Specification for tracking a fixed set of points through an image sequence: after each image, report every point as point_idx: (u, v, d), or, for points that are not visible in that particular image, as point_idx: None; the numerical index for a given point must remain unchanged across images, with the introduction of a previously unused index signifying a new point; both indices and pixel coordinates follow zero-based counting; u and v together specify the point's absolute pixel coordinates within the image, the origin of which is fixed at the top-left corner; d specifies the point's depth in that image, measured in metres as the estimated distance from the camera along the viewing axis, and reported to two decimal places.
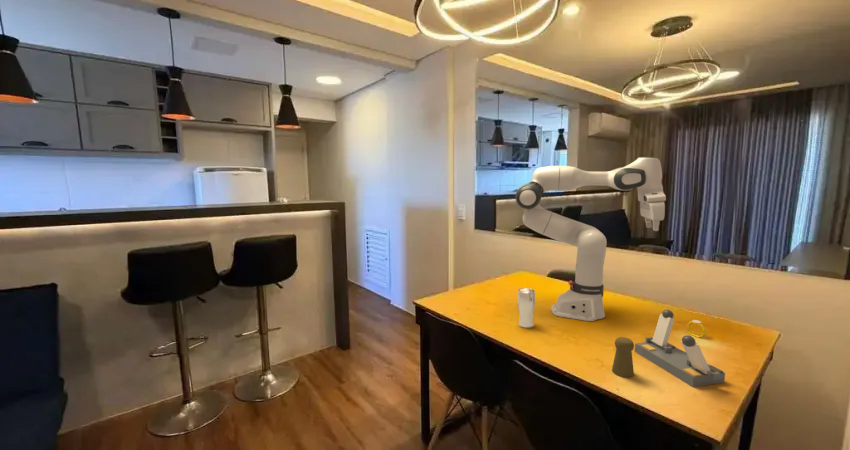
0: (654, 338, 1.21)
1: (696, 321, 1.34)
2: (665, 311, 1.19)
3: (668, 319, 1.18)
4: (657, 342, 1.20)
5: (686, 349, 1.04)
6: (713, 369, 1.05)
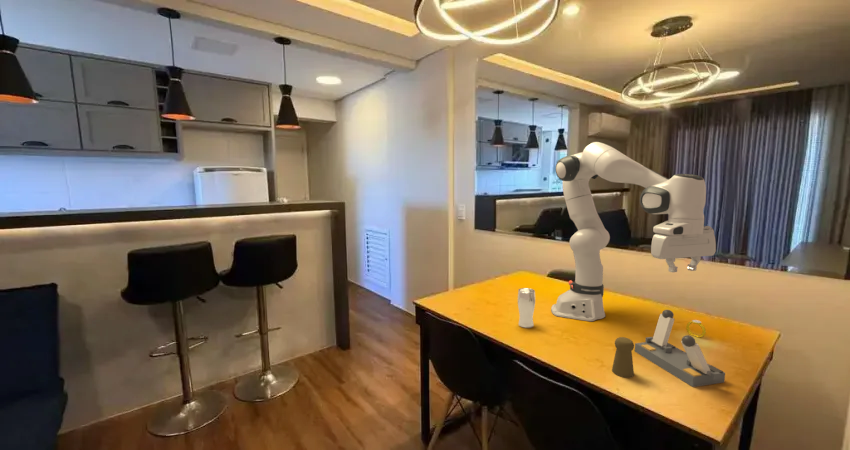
0: (654, 338, 1.21)
1: (696, 321, 1.34)
2: (665, 311, 1.19)
3: (668, 319, 1.18)
4: (657, 342, 1.20)
5: (686, 349, 1.04)
6: (713, 369, 1.05)
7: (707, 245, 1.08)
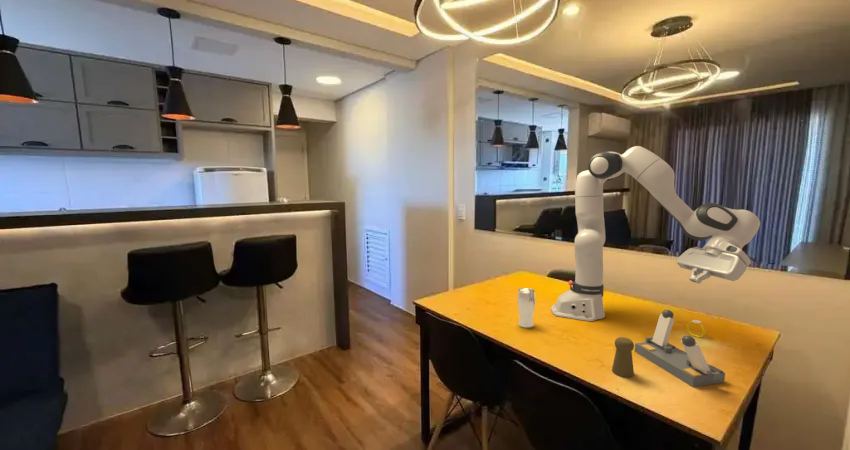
0: (654, 338, 1.21)
1: (696, 321, 1.34)
2: (665, 311, 1.19)
3: (668, 319, 1.18)
4: (657, 342, 1.20)
5: (686, 349, 1.04)
6: (713, 369, 1.05)
7: None
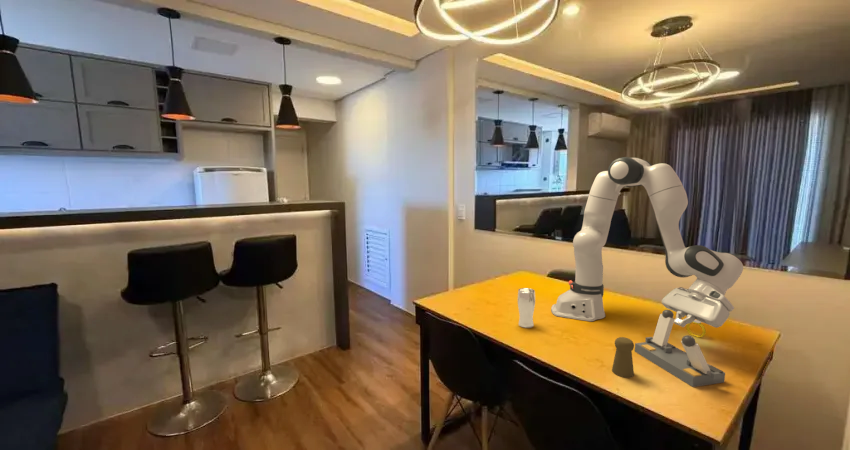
0: (654, 338, 1.21)
1: (696, 321, 1.34)
2: (665, 311, 1.19)
3: (668, 319, 1.18)
4: (657, 342, 1.20)
5: (686, 349, 1.04)
6: (713, 369, 1.05)
7: None
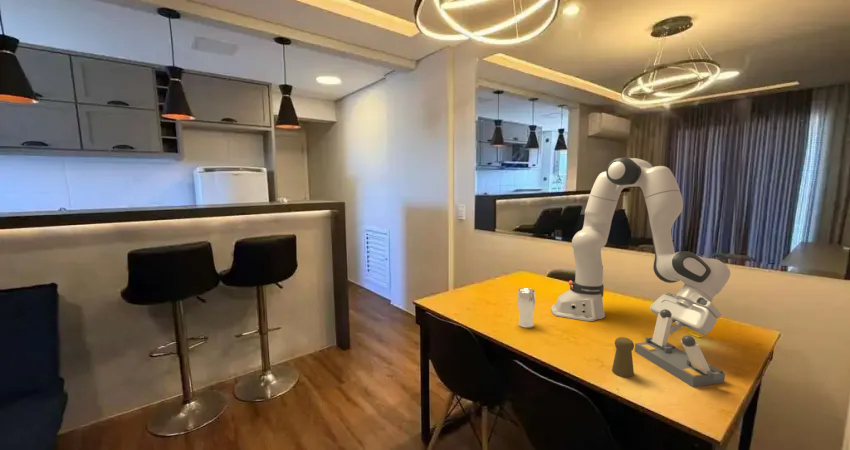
0: (654, 338, 1.21)
1: None
2: (663, 311, 1.19)
3: (666, 319, 1.18)
4: (657, 342, 1.20)
5: (686, 349, 1.04)
6: (713, 369, 1.05)
7: None
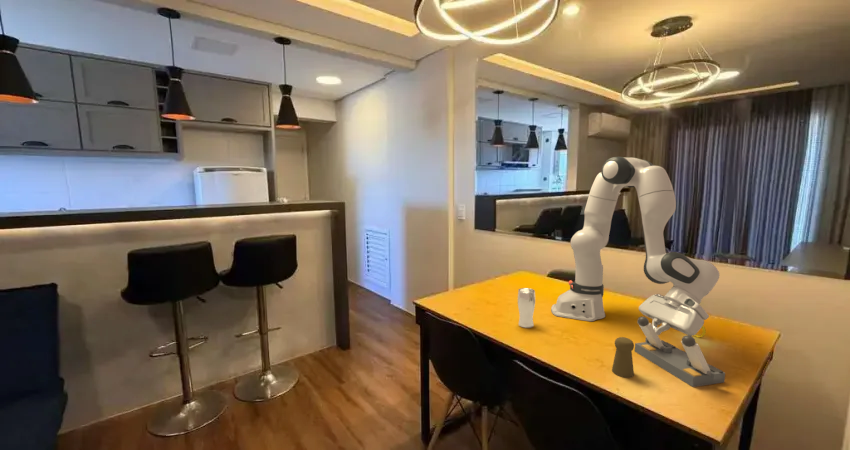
0: (649, 341, 1.21)
1: None
2: (639, 321, 1.18)
3: (646, 327, 1.17)
4: (654, 345, 1.20)
5: (686, 349, 1.04)
6: (713, 369, 1.05)
7: None
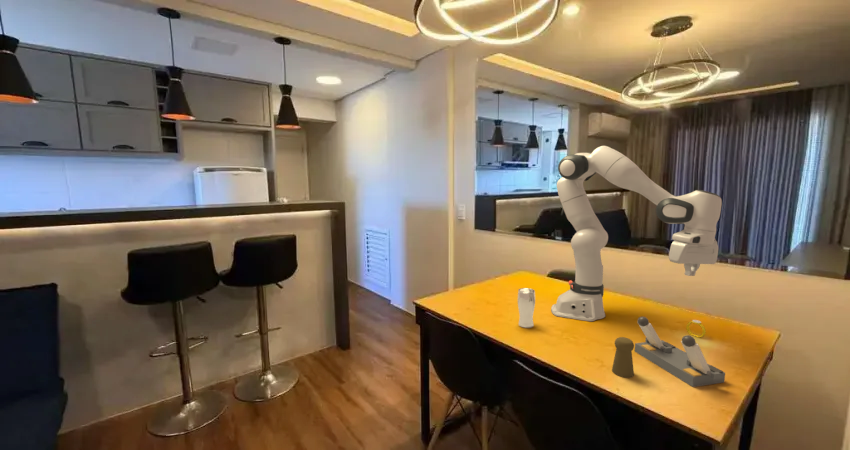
0: (649, 341, 1.21)
1: (696, 321, 1.34)
2: (639, 321, 1.18)
3: (646, 328, 1.17)
4: (654, 345, 1.20)
5: (686, 349, 1.04)
6: (713, 369, 1.05)
7: (712, 254, 1.25)
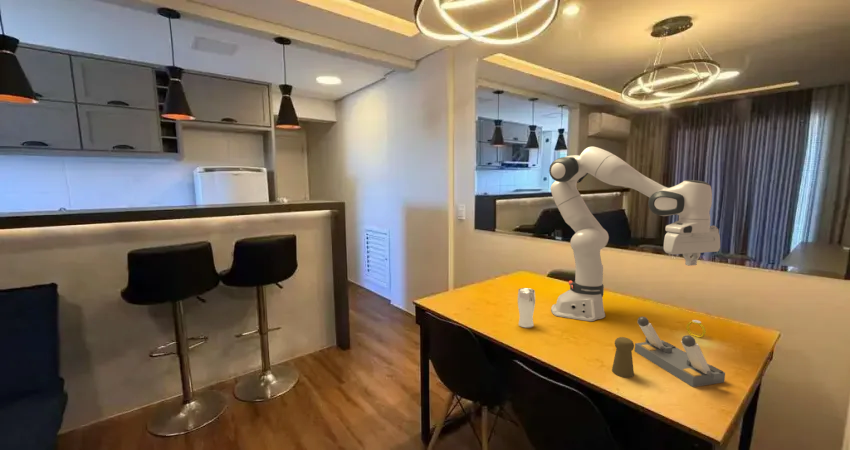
0: (649, 341, 1.21)
1: (696, 321, 1.34)
2: (639, 321, 1.18)
3: (646, 328, 1.17)
4: (654, 345, 1.20)
5: (686, 349, 1.04)
6: (713, 369, 1.05)
7: (713, 242, 1.24)
